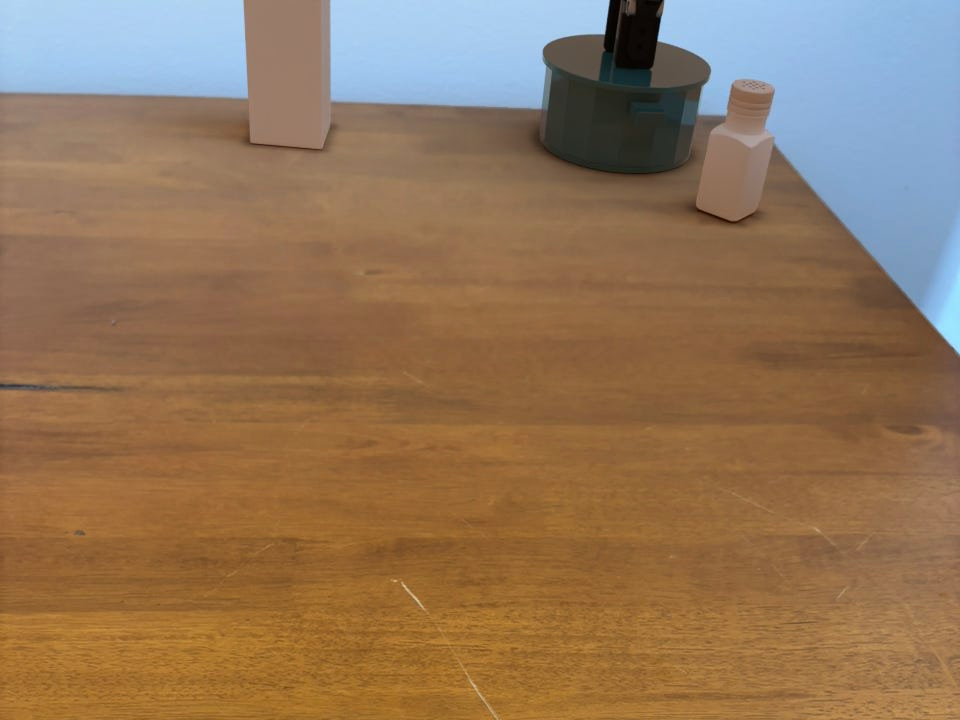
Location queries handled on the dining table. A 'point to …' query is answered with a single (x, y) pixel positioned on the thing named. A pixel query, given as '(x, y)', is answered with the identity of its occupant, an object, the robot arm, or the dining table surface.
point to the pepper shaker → (738, 153)
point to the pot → (617, 126)
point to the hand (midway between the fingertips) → (627, 56)
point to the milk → (288, 71)
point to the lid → (598, 69)
